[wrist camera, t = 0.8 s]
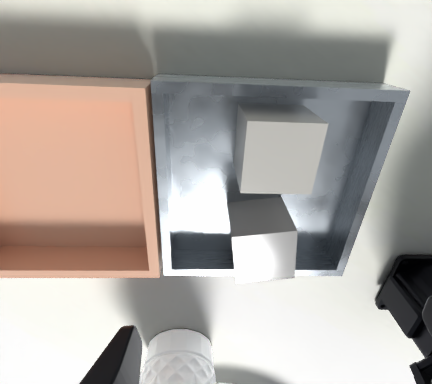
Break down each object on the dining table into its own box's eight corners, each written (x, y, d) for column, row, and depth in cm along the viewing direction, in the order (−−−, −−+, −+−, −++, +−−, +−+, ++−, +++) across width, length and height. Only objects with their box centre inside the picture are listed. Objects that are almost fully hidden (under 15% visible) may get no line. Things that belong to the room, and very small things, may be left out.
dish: (154, 79, 16) (145, 88, 14) (164, 249, 23) (159, 277, 20) (-81, 69, 16) (-138, 77, 13) (-2, 248, 22) (-29, 277, 19)
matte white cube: (303, 105, 17) (328, 123, 14) (291, 164, 19) (311, 194, 16) (238, 102, 17) (247, 121, 13) (233, 163, 19) (240, 193, 15)
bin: (384, 83, 17) (410, 90, 15) (329, 253, 24) (342, 275, 22) (157, 73, 16) (150, 80, 14) (167, 252, 23) (163, 275, 21)
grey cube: (281, 196, 20) (297, 230, 17) (280, 239, 22) (294, 277, 19) (226, 202, 20) (231, 237, 17) (230, 244, 22) (235, 283, 19)
